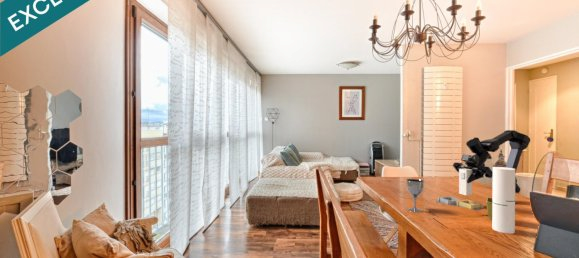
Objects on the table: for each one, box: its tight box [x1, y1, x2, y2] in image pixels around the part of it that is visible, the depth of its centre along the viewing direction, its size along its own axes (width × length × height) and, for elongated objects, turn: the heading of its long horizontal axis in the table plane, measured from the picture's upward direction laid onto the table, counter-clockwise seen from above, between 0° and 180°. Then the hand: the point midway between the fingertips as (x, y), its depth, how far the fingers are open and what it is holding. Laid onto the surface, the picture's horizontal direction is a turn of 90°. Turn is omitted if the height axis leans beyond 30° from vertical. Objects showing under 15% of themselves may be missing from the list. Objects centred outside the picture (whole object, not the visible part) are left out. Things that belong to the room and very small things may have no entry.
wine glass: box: [406, 178, 425, 213], centre depth 134 cm, size 8×8×15 cm
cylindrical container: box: [491, 166, 516, 235], centre depth 108 cm, size 7×7×25 cm
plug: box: [458, 168, 473, 196], centre depth 139 cm, size 4×4×13 cm
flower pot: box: [485, 196, 492, 222], centre depth 119 cm, size 9×9×9 cm
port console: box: [435, 196, 487, 211], centre depth 142 cm, size 12×20×3 cm, turn 41°
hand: (463, 181), depth 139 cm, fingers closed on plug, 4 cm apart
